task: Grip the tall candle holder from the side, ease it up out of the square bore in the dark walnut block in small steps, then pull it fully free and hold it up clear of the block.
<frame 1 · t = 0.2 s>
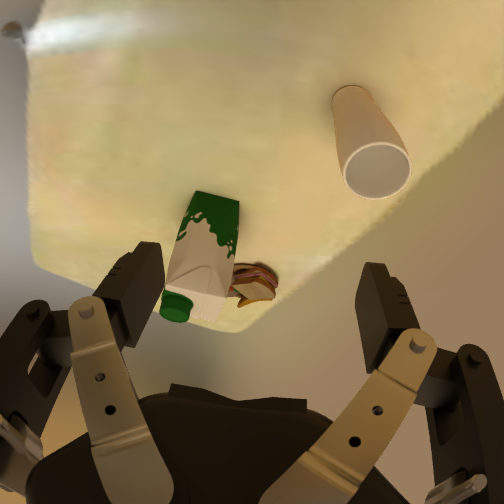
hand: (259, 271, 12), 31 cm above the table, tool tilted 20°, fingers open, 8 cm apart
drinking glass: (351, 102, 36), on the table
milk carton: (214, 209, 53), on the table
toy sandwich meal: (246, 276, 68), on the table
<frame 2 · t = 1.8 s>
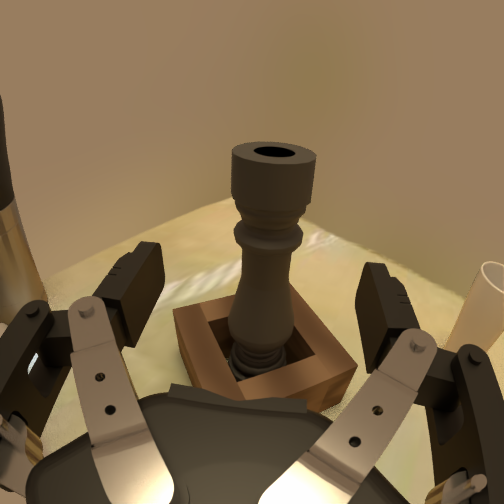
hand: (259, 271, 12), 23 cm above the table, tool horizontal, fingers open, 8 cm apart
bore block: (256, 378, 34), on the table
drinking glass: (451, 367, 35), on the table
candle holder: (255, 379, 34), resting in bore block
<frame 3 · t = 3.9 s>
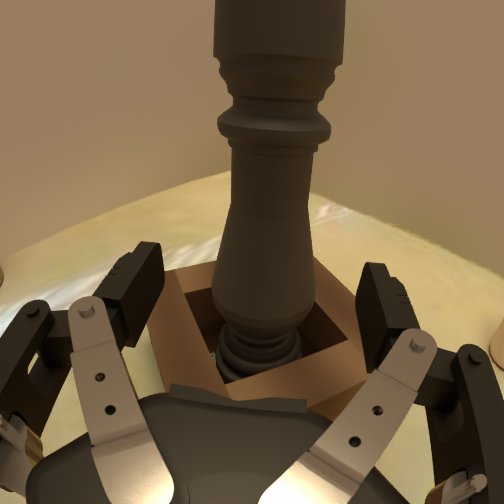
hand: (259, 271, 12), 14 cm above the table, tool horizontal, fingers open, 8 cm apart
bore block: (256, 379, 24), on the table
candle holder: (256, 381, 24), resting in bore block
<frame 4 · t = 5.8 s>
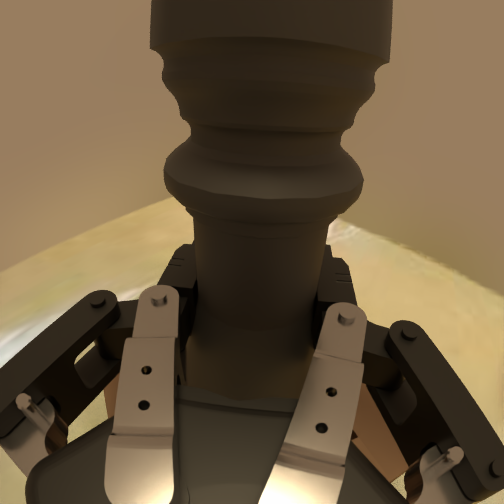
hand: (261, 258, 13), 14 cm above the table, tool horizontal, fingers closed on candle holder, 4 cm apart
bore block: (245, 454, 18), on the table
candle holder: (245, 455, 18), resting in bore block, touching gripper
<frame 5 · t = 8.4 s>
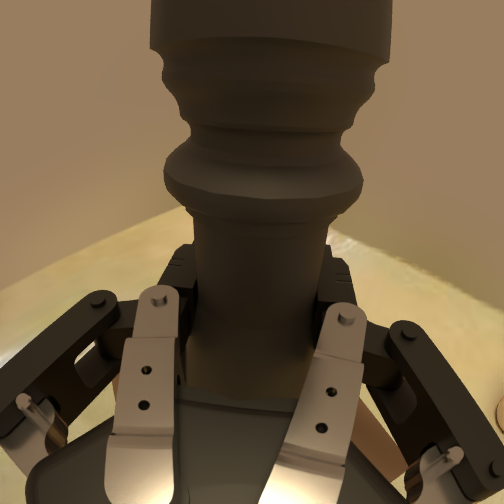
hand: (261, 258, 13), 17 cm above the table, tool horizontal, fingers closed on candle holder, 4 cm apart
bore block: (246, 464, 20), on the table
candle holder: (245, 455, 18), point 2 cm above the table, touching gripper
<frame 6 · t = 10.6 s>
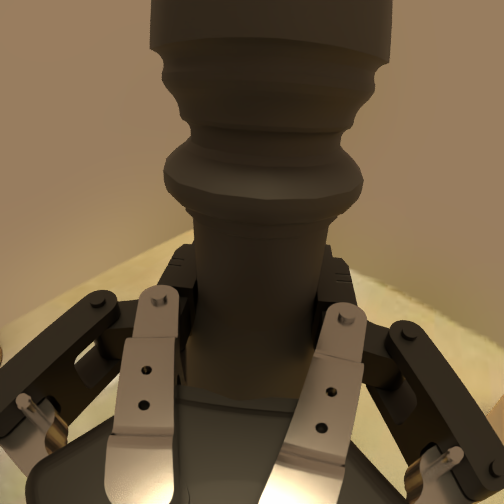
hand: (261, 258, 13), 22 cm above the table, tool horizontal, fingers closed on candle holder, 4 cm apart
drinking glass: (485, 443, 23), on the table
candle holder: (245, 455, 18), point 8 cm above the table, touching gripper
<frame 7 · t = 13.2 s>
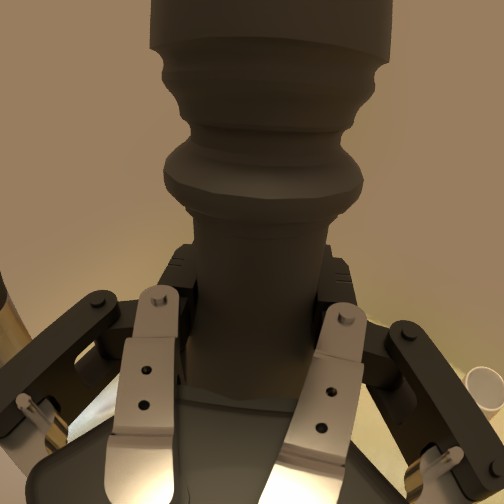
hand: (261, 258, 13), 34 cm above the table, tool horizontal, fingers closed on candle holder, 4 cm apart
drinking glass: (431, 445, 34), on the table
candle holder: (245, 455, 18), point 19 cm above the table, touching gripper
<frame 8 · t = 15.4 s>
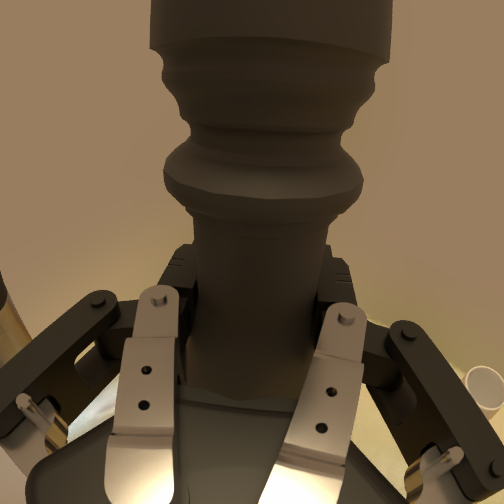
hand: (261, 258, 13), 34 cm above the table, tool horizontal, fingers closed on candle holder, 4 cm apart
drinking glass: (431, 444, 34), on the table
candle holder: (245, 455, 18), point 19 cm above the table, touching gripper
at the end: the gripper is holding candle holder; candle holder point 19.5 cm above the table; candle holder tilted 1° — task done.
